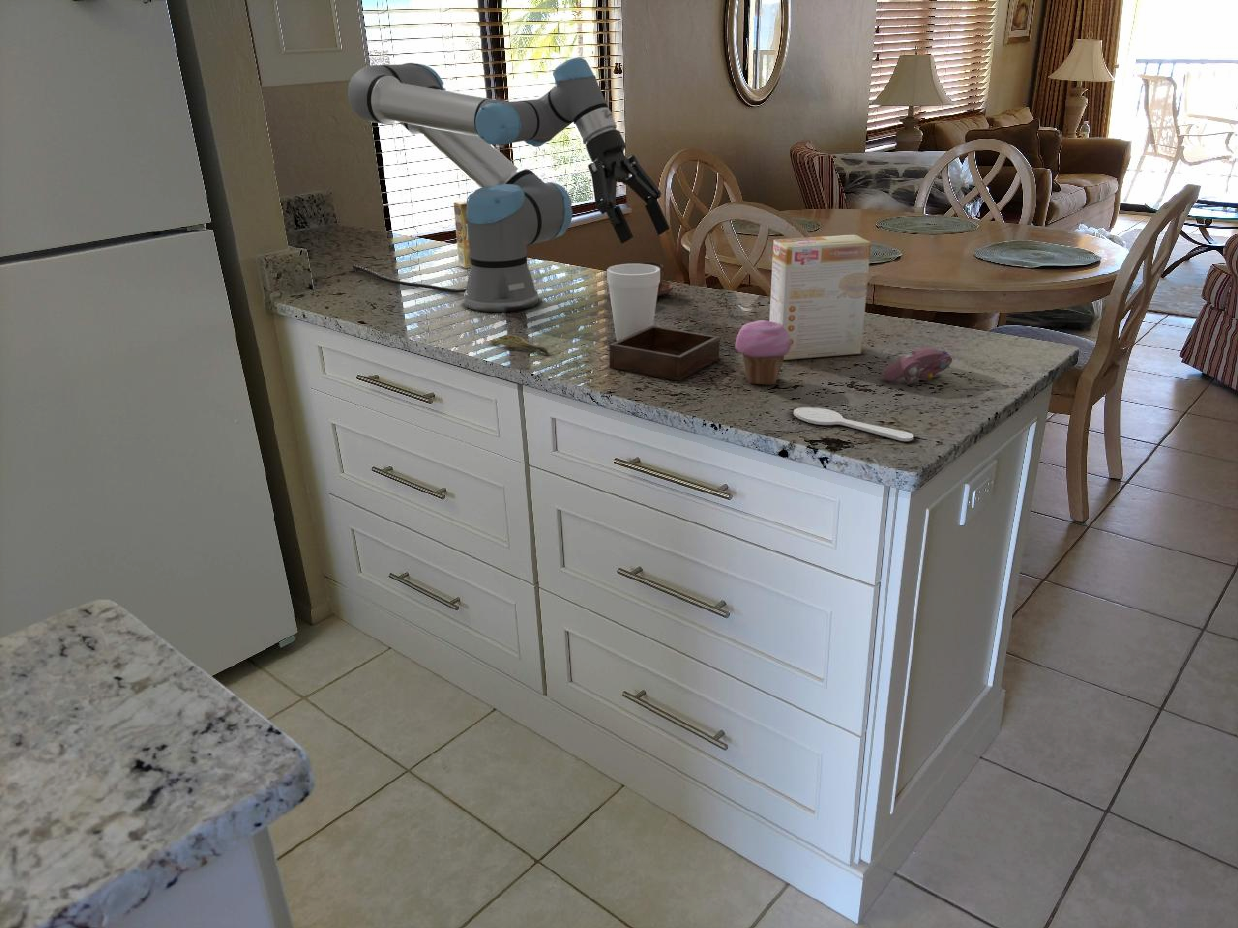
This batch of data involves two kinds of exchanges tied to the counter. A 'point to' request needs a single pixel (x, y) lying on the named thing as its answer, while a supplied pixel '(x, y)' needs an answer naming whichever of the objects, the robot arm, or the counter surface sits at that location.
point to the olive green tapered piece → (517, 343)
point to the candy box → (462, 234)
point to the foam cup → (633, 296)
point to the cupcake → (763, 350)
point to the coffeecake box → (820, 293)
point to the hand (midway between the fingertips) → (646, 236)
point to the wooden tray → (664, 352)
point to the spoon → (847, 422)
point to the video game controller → (918, 365)
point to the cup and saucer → (661, 279)
